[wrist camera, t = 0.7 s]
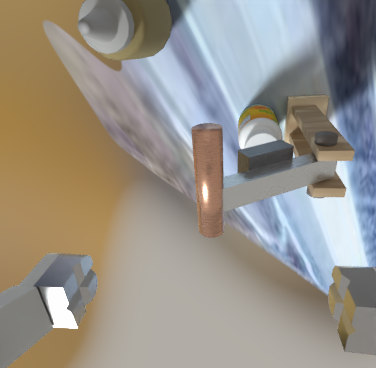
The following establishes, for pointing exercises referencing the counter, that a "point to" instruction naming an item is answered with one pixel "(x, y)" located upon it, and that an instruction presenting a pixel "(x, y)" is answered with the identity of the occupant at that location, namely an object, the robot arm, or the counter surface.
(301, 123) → the press stand
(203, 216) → the lever
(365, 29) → the counter surface
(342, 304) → the robot arm
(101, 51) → the squeeze bottle
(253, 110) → the supplement bottle
